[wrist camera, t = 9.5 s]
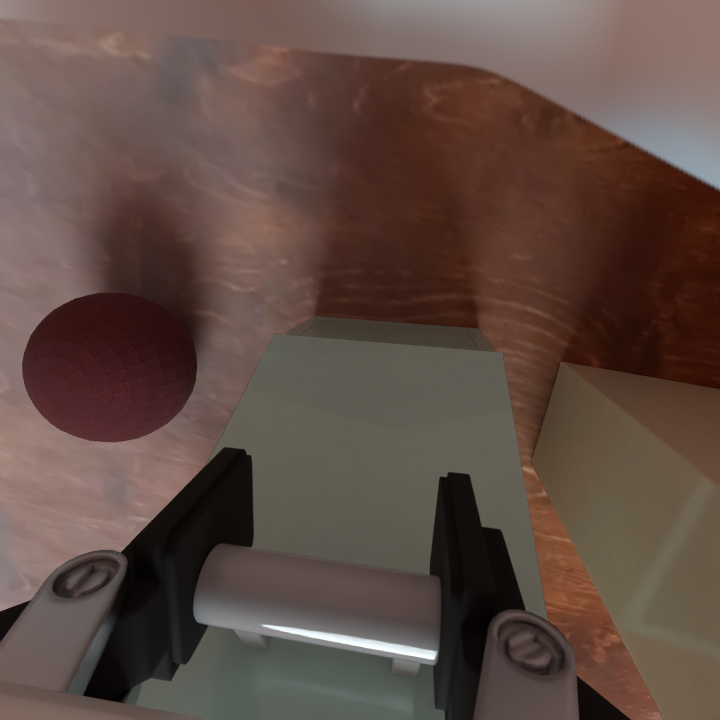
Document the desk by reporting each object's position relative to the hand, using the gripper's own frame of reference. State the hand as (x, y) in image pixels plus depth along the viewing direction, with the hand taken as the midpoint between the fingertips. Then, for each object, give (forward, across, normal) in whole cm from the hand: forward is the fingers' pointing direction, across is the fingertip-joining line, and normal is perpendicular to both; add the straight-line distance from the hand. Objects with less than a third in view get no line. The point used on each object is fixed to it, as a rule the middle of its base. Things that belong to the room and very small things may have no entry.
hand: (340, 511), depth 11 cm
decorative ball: (+20, +18, +2) cm, 27 cm away
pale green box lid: (+4, 0, +2) cm, 5 cm away
